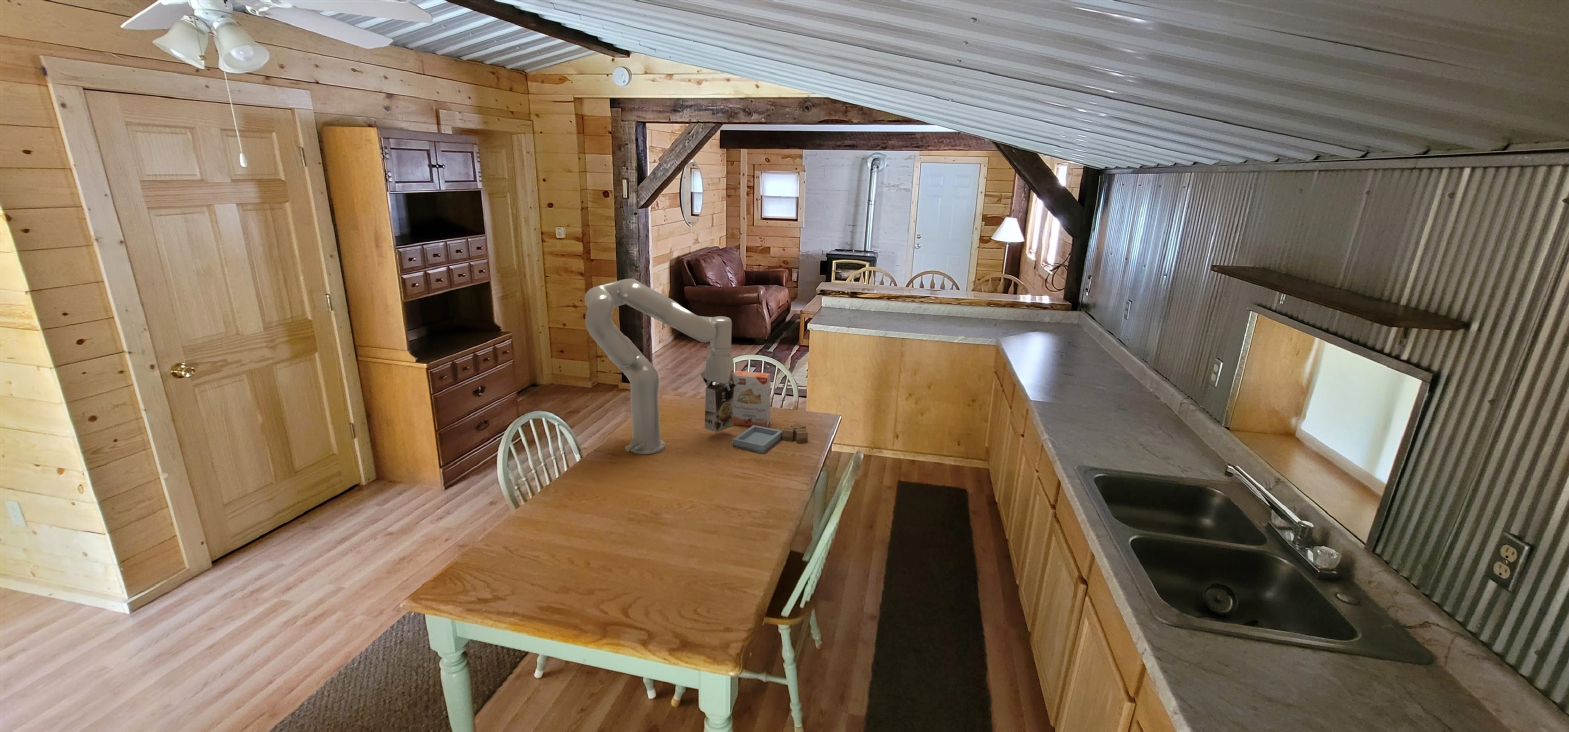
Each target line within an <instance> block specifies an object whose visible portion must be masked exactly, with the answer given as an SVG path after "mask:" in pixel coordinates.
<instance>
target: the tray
mask: <svg viewBox="0 0 1569 732" xmlns="http://www.w3.org/2000/svg"><path fill="white" fill-rule="evenodd" d="M781 441H783V440H782V430H779V429H776V428H775V429H774V428H771V427H770V428H769V427H767V428H766V427H761V426H756V425H753V426H749V428H747V429H746V430H744V431H743V432H742V433H739V435H737V436H736V437H734V438H733V439H732V447H733V448H736V449H741V450H745V451H750V452H754V453H759V454H763V455H764V454H765V453H766V452H768V451H769V450H770V449H771V448H773V447H774V446H775V445H777V444H778V443H779V442H781Z"/></svg>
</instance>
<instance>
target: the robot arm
mask: <svg viewBox="0 0 1569 732" xmlns="http://www.w3.org/2000/svg"><path fill="white" fill-rule="evenodd" d="M584 304H585V306H586V308H587V309H586V312H585V318H584V320H585V327H586V330H587V332H588V333H589V336H590V337H591V339H593V340H594V342H595V343H596V344H597V345H598V346H599V348H600V349H601V350H602V351H603V352H604V353H605V355H606V356H607V358H608V359H609V360H610V361H611V362H612V364H614V365H615V366H616V367H617V368H618V369H619V370H620V371H621V373H623V375H624V376H625V377H626V378H627V379H628V381H629V384H630V411H631V426H632V428H631V430H632V438H631V442H630V443H629V444H628V445H626V446H624V450H625V452H629V451H630V452H631V453H633V454H636V455H652V454H656V453H659V452H661V451H663V450H664V449H665V448H666V443H665V441H664V440H662V439H661V425H660V403H659V387H660V378H659V373H658V371H657V369H656V368H655V366H654V365H653V364H652V363H651V362H650V361H649V359H648V358H647V357H646V355H645V356H644V354H643V353H642V352H641V351H640V349H639V348H638V347H637V346H636V345H635V344H634V343H633V341H632V340H631V339H630V338H629V337H628V336H626V335H625V334H624V333H623V332H622V331H621V330H620V329H619V327H618V326H617V325H616V324H615V323H614V320H613V314H614V310H615V308H616V307H619V306H623V305H627V306H629V307H631V308H633V309H635V310H637V311H639V312H641V313H643V314H645V315H647V316H648V317H650V318H653V319H655V320H656V321H659V322H660V323H662V324H664V325H666V326H668V327H671V328H673V329H675V330H677V331H679V332H681V333H683V334H685V335H686V336H688V337H690V338H692V339H694V340H696V341H698V342H701V343H704V344H705V343H709V345H707V350H709V352H708V354H707V357H706V361H705V367H704V369H705V370H704V371H702V372H701V373H700V376H701V378H702V380H703V382H704V384H705V386H706V387H709V386H713V385H714V384H713V383H716V384H719V383H722V384H725V385H726V387H727V390H726V401H728V400H730V399H731V398H732V389H733V388H734V387H735V386H736V385H737V384H738V383H739V382H740V380H739V379H738V378H737V377H736V375H735V374H734V373H735V365H734V364H735V363H734V358H733V355H732V326H733V322H732V319H731V318H730V317H727V316H723V315H722V316H721V315H719V316H703V315H697V314H695V313H693V312H692V311H690V310H688V309H686V308H685V307H683V306H682V305H681V304H679V303H678V302H677V301H676V300H674V299H671V298H670V297H668V296H666V295H664V294H662V293H660V292H659V291H656V290H655V289H653V288H651V287H649V286H647V285H645V284H644V283H641V282H640V281H639V280H637V279H635V278H625V279H620V280H615V281H612V282H608V283H605V284H600V285H597V286H594V287H591V288H589V290H588V291H586V293H585V295H584ZM733 380H734V383H733V384H732V381H733Z"/></svg>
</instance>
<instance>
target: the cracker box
mask: <svg viewBox="0 0 1569 732" xmlns="http://www.w3.org/2000/svg"><path fill="white" fill-rule="evenodd" d="M734 374H735V375H736V377H737V378H738V379H739V380H740V382H739V383H738V384H737V385H736V386H735V387H734V400H733V426H743V427H752V426H753V425H756V426H761V427H766V428H769V427H768V426H769V425H770V423H771V373H768V372H755V371H744V370H735V371H734ZM733 383H734V380H733V381H732V384H733Z"/></svg>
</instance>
